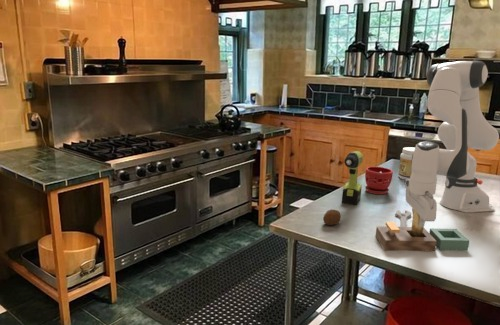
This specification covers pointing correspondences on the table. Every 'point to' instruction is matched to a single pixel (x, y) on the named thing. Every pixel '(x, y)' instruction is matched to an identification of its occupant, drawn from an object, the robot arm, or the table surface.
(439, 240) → the green square frame
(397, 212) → the adjustable wrench
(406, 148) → the supplement tub
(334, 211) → the potato
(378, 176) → the plant pot
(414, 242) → the socket block
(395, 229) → the block
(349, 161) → the cordless drill
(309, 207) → the table surface
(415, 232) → the gold rounded cylinder
